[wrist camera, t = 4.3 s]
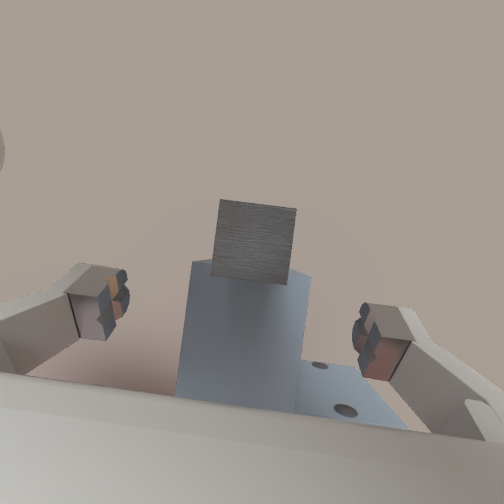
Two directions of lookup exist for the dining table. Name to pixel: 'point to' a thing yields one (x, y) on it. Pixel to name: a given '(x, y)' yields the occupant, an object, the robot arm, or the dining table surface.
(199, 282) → the stepped stand
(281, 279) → the bar
